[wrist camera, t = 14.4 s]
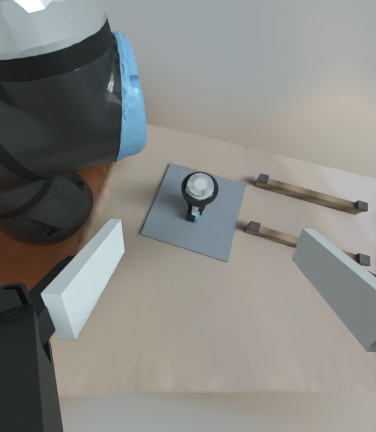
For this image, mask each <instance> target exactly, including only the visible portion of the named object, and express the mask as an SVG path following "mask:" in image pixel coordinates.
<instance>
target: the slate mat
mask: <svg viewBox="0 0 376 432" xmlns="http://www.w3.org/2000/svg"><path fill="white" fill-rule="evenodd" d="M194 172H200V171H197V170H193V169H189V168H186V167H182V166H179V165H175V164H172V163H170V165H169V167H168V170H167V172H166V175H165V177H164V179H163V182H162V184H161V186H160V189H159V191H158V193H157V196H156V198H155V201H154V203H153V205H152V208H151V210H150V212H149V215H148V217H147V219H146V222H145V224H144V227H143V229H142V231H141V235H144V236H147V237H150V238H153V239H156V240H159V241H162V242H165V243H169V244H172V245H175V246H178V247H181V248H184V249H187V250H190V251H194V252H197V253H200V254H203V255H206V256H209V257H212V258H215V259H218V260H222V261H225V262H228V257H229V253H230V249H231V244H232V240H233V236H234V231H235V227H236V223H237V218H238V214H239V210H240V205H241V201H242V197H243V192H244V188H245V184H242V183H239V182H235V181H232V180H228V179H225V178H221V177H218V176H214V175H211V174H210V175H211V176H212V177H214V178H215V180H216V181H217V183H218V187H219V190H218V194H217V197H216V198H215V200H214V201H213V202H211V203H210V204H208V205H206V206H205V209H204V213H203V212H202V215H199V218H198V222H197V223H194V222H190V221H186V216H187V212H188V211H187V208H188V203H187V202H186V200H185V199H184V197H183V195H182V192H181V185H182V182H183V180H184V178H185V177H186V176H187V175H189V174H191V173H194ZM186 193H187V189H186ZM212 195H213V193H212V194H211V196H212ZM211 196H210V197H211Z"/></svg>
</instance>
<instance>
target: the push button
mask: <svg viewBox="0 0 376 432" xmlns="http://www.w3.org/2000/svg"><path fill="white" fill-rule="evenodd" d="M186 189H187V193H186ZM218 190H219V187H218V183H217V181H216V180H215V178H214V177H212V176H211V175H210V174H208V173H205V172H194V173H191V174H189V175H187V176H186V177H185V178H184V180H183V182H182V185H181V192H182V195H183V197H184V199H185V200H186V202H187V203H188V208H187V211H188V212H187V216H186V221H190V222H194V223H197V222H198V218H199V215H202V212H203V213H204V209H205V206H206V205H208V204H210V203H211V202H213V201H214V200H215V198H216V197H217V194H218ZM212 193H213V195H212V196H211V194H212ZM210 196H211V197H210Z"/></svg>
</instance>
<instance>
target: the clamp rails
mask: <svg viewBox="0 0 376 432" xmlns="http://www.w3.org/2000/svg"><path fill="white" fill-rule="evenodd" d="M255 187H259V188H262V189H266V190H270V191H273V192H277V193H280V194H284V195H287V196H291V197H294V198H298V199H301V200H305V201H308V202H312V203H315V204H319V205H322V206H326V207H330V208H333V209H337V210H340V211H344V212H347V213H351V214H354V215H356V214H358V213H361V212H363V211H364V212H366V211H368V203H366V202H362V201H357V202H356V203H355V202H351V201H347V200H344V199H340V198H337V197H333V196H329V195H326V194H322V193H319V192H315V191H311V190H308V189H304V188H301V187H297V186H293V185H290V184H286V183H283V182H279V181H275V180H272V179H269V176H268V175H265V174H260V176H259V177H258V179H257V180H256V182H255ZM245 232H246V233H249V234H252V235H256V236H259V237H262V238H265V239H269V240H272V241H275V242H279V243H282V244H285V245H288V246H292V247H295V248H296V246H297V243H298V241H299V238H298V237H295V236H292V235H288V234H285V233H282V232H278V231H275V230H272V229H268V228H265V227H262V226H260V223H257V222H253V221H251V222H250V223H249V224H248V225H247V226H246V230H245ZM341 251H342V250H341ZM342 252H344V253H345V254H346V255H348V256H349V257H350V258H352V259H353V260H354V261H355V262H357V263H358V264H359V265H361V266H362V265H365V266H370V256H367V255H364V254H360V253H359V254H357V255H355V254H352V253H348V252H345V251H342Z"/></svg>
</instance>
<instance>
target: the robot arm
mask: <svg viewBox="0 0 376 432" xmlns="http://www.w3.org/2000/svg"><path fill="white" fill-rule="evenodd" d="M146 140H147V125H146V115H145V107H144V100H143V95H142V89H141V87H140V85H139V76H138V69H137V64H136V60H135V56H134V53H133V49H132V47H131V44H130V42H129V40H128V38H127V37H126V36H125V35H124V34H121V33H119V32H117V31H113V32H112V33H111V30H110V26H109V23H108V19H107V16H106V12H105V9H104V7H103V6H102V4H101V3H100V2H99V1H98V0H0V230H1V231H2V232H4V233H5V234H6V235H7V236H9V237H10V238H12V239H14V240H17V241H19V242H23V243H27V244H30V245H37V246H43V245H51V244H54V243H58V242H60V241H62V240H65V239H66V238H68V237H70V236H71V235H73V234H74V233H75V232H76V231H78V230H79V229H80V228H81V226H82V225H83V224H84V223H85V221H86V220H87V218H88V216H89V214H90V212H91V209H92V204H93V196H92V191H91V189H90V186H89V185H88V183H87V182H86V181H85V180H84V179H83V178H82V177H81V176H80V175H79V174H78V173H77V172H75V171H78V170H82V169H86V168H90V167H94V166H98V165H102V164H106V163H110V162H118V161H120V160H121V159H122V158H125V157H128V156H132V155H135V154H138V153H139V152H140V151H141V150H142V149H143V148H144V147H145V144H146ZM124 252H125V251H124V243H123V234H122V225H121V220H119V219H110V220H109V221H108V222H107V223H106V224H105V225H104V226H103V227H102V228H101V229H100V230H99V232H98V233H97V234H96V235H95V236H94V237H93V238H92V239H91V240H90V241H89V242H88V243H87V244H86V246H85V247H84V248H83V249H82V250H81V251H80V252H79V253H78V254H77V255H76V256H68V257H67V258H65V259H63V260H62V261H60V262H59V263H58V264H57V265H56V266H55V267H54V268H53V270H51V271H50V272H49V273H48V274H47V276H45V277H44V278H43V279H41V280H40V281H39V282H38V283H37V284H36V285H35V286H34V287H33V288H32V289H31V290H30V291H29V292H28V290H27V287H26V286H25V284H23V283H10V284H6V285H3V286H0V432H63V426H62V419H61V413H60V406H59V398H58V391H57V385H56V378H55V371H54V364H53V357H52V350H51V344H50V341H49V339H50V338H51V336H52V335H53V333H54V332H56V334H57V337H58V339H67V340H76V339H77V337H78V335H79V333H80V331H81V329H82V328H83V326H84V324H85V322H86V320H87V319H88V317H89V315H90V313H91V311H92V310H93V308H94V306H95V304H96V302H97V300H98V299H99V297H100V295H101V293H102V291H103V290H104V288H105V286H106V284H107V282H108V281H109V279H110V277H111V275H112V273H113V272H114V270H115V268H116V266H117V264H118V262H119V261H120V259H121V257H122V255H123V253H124ZM292 260H293V261H294V263H295V264H296V265H297V266H298V267H299V269H300V270H301V271H302V272H303V274H304V275H305V276H306V277H307V279H308V280H309V281H310V282H311V283H312V285H313V286H314V287H315V288H316V290H317V291H318V292H319V293H320V295H321V296H322V297H323V298H324V299H325V301H326V302H327V303H328V304H329V306H330V307H331V308H332V309H333V311H334V312H335V313H336V314H337V315H338V317H339V318H340V319H341V320H342V322H343V323H344V324H345V325H346V327H347V328H348V329H349V330H350V331H351V333H352V334H353V335H354V336H355V338H356V339H357V340H358V341H359V343H360V344H361V345H362V346H363V347H364V349H365V350H366V351H368V352H376V275H375V274H373V273H371V272H369V271H367V270H366V269H364V268H363V267H362V266H361V265H359V264H358V263H357V262H355V261H354V260H353V259H352V258H350V257H349V256H348V255H346V254H345V253H344V252H342V251H341V250H340V249H339V248H337V247H336V246H335V245H333V244H332V243H331V242H330V241H328V240H327V239H326V238H324V237H323V236H322V235H320V234H319V233H318V232H317V231H315V230H314V229H305V228H303V229H302V232H301V235H300V238H299V241H298V243H297V246H296V249H295V252H294V255H293V257H292Z"/></svg>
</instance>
